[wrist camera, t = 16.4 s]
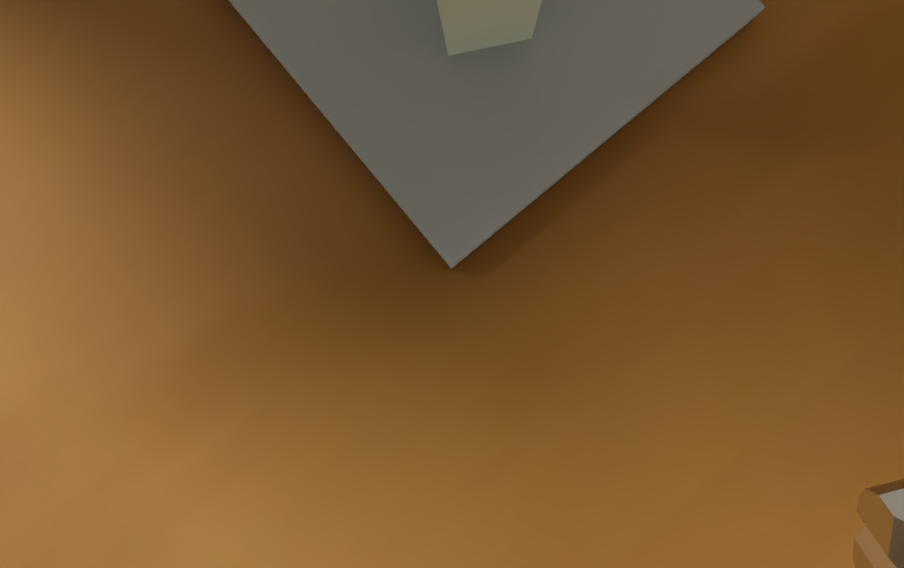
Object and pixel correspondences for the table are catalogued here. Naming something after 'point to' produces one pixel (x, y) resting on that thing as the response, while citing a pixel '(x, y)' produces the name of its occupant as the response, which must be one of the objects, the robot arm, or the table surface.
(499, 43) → the tall block
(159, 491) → the table surface
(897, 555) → the robot arm
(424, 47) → the slate mat
